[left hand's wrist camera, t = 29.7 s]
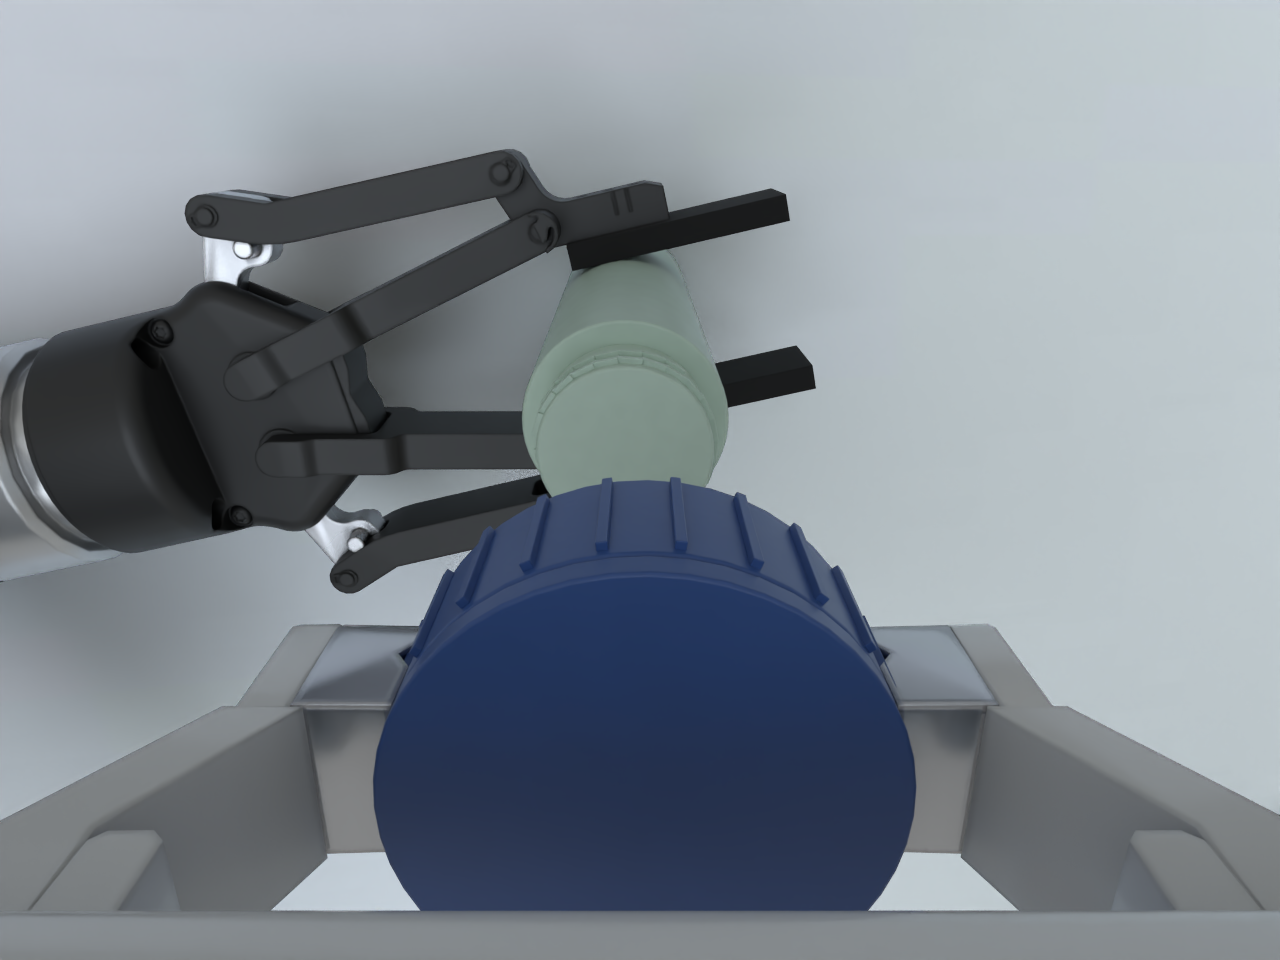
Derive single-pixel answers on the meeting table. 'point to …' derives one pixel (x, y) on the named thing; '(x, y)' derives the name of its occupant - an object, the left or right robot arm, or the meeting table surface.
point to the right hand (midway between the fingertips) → (791, 287)
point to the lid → (644, 718)
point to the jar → (625, 382)
